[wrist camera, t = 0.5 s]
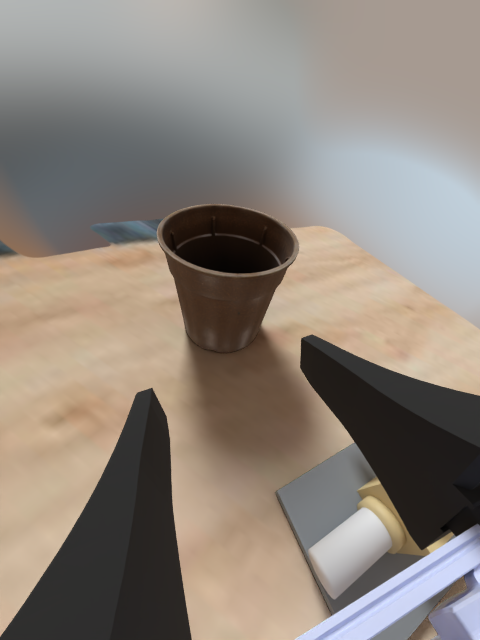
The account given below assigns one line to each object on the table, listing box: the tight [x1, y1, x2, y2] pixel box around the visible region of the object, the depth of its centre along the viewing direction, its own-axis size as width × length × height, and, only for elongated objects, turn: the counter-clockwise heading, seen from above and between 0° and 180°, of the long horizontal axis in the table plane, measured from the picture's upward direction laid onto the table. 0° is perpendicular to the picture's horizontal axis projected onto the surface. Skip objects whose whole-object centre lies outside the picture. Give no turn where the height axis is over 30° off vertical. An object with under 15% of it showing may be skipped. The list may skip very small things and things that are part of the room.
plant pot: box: [157, 204, 299, 353], centre depth 33 cm, size 16×16×16 cm
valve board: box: [275, 443, 457, 640], centre depth 22 cm, size 12×20×6 cm, turn 116°
